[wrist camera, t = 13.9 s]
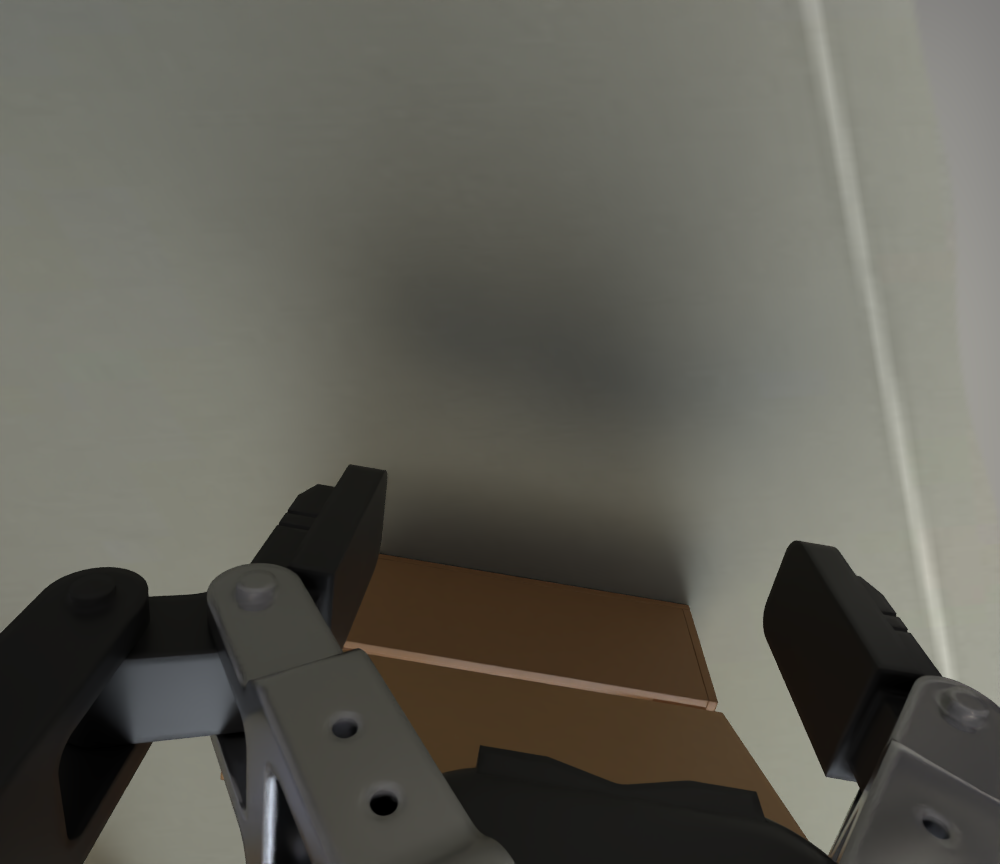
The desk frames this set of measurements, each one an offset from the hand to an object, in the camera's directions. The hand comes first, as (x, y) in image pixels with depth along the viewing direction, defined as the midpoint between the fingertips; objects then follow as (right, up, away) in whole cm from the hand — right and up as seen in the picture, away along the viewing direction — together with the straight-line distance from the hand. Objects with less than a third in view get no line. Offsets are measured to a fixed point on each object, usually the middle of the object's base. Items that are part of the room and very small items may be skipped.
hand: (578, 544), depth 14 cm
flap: (-1, -6, +4) cm, 7 cm away
